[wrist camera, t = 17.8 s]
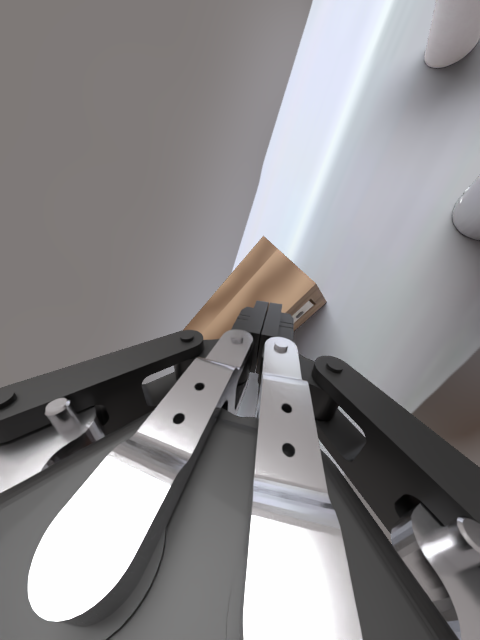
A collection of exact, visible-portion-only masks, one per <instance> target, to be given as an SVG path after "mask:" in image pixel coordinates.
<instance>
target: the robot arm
mask: <svg viewBox="0 0 480 640" xmlns="http://www.w3.org/2000/svg"><path fill="white" fill-rule="evenodd" d="M452 218H453V223H454V225H455V227H456V228H457V229H458V230H459V231H460V232H461V233H462V234H464V235H465V236H467V237H470V238H473V239H476V240H480V175H479V176H478V177H477V178H476V180H475V181H474V182H473V183H472V184H471V185H470V186H469V187H468V188H467V190H466V191H465V192H464V193H463V195H462V196H461V197H460V198H459V200H458V201H457V203H456V204H455V207H454V209H453V215H452ZM268 307H269V308H268ZM281 310H282V304H277V303H271V302H270V304H269V302H265V301H258V300H257V301H256V303H255V306H254V308H252V307H246V308H244V309H242V310H241V312H240V314H239V315H238V317H237V319H236V321H235V323H234V325H233V327H232V328H231V330H229V331H227V332H225V333H224V334H223V335H222V337H221V338H220V339H213V340H203V335H202V334H201V333H200V332H198V331H195V330H183V331H179V332H176V333H173V334H170V335H167V336H163V337H160V338H157V339H154V340H151V341H148V342H144V343H141V344H138V345H135V346H132V347H129V348H126V349H122V350H119V351H116V352H113V353H110V354H107V355H103V356H100V357H97V358H94V359H91V360H88V361H84V362H81V363H78V364H75V365H72V366H68V367H65V368H62V369H59V370H56V371H53V372H50V373H47V374H43V375H40V376H37V377H34V378H31V379H27V380H24V381H21V382H18V383H15V384H11V385H8V386H5V387H2V388H0V640H480V467H478V466H477V465H476V464H474V463H473V462H472V461H471V460H469V459H468V458H467V457H465V456H464V455H463V454H462V453H460V452H459V451H458V450H456V449H455V448H454V447H453V446H451V445H450V444H449V443H448V442H446V441H445V440H444V439H443V438H441V437H440V436H439V435H437V434H436V433H435V432H434V431H432V430H431V429H429V428H428V427H427V426H426V425H425V424H423V423H422V422H421V421H419V420H418V419H417V418H416V417H414V416H413V415H412V414H411V413H409V412H408V411H407V410H406V409H404V408H403V407H402V406H400V405H399V404H398V403H397V402H395V401H394V400H393V399H391V398H390V397H389V396H388V395H386V394H385V393H384V392H383V391H381V390H380V389H379V388H377V387H376V386H375V385H374V384H372V383H371V382H370V381H368V380H367V379H366V378H365V377H363V376H362V375H361V374H360V373H358V372H357V371H356V370H354V369H353V368H352V367H351V366H349V365H348V364H347V363H345V362H344V361H342V360H340V359H338V358H335V357H332V356H321V357H318V358H317V359H316V361H315V362H314V361H312V360H309V359H307V358H305V357H303V356H301V355H300V354H299V353H298V349H297V346H296V345H295V343H293V336H294V329H293V328H294V318H293V317H292V316H291V314H288V313H282V312H281ZM173 365H174V368H175V372H173V373H171V374H169V375H166V376H164V377H161V378H159V379H157V380H155V381H152V382H150V383H148V384H143V385H142V382H143V380H144V379H145V378H146V377H147V376H149V375H151V374H154V373H156V372H159V371H161V370H163V369H166V368H168V367H171V366H173ZM256 365H257V369H256ZM255 369H256V373H258V374H259V377H258V383H259V386H258V394H257V403H256V413H255V417H238V416H236V414H237V411H238V409H239V406H240V403H241V401H242V398H243V395H244V393H245V390H246V388H247V385H248V378H249V373H250V372H254V373H255ZM338 406H340V407H341V408H342V409H343V410H344V411H345V412H346V413H347V414H348V415H349V416H350V417H351V418H352V419H353V420H354V421H355V422H356V423H357V424H358V425H359V426H360V428H361V429H362V430H363V432H364V434H365V436H366V438H365V437H364V436H363V435H362V434H361V433H360V432H359V431H358V429H357V428H356V427H355V426H354V425H353V424H352V423H351V422H350V421H349V420H348V419H347V418H346V417H345V416H344V415H343V414H342V413H341V412H340V411H339V410H338V409H337V408H338ZM318 439H319V440H320V441H321V442H322V444H323V445H324V446H325V448H326V449H327V450H328V452H329V453H330V454H331V456H332V457H333V458H334V460H335V461H336V462H337V464H338V465H339V466H340V468H341V469H342V470H343V471H344V473H345V474H346V475H347V477H348V478H349V479H350V481H351V482H352V483H353V485H354V486H355V487H356V489H357V490H358V491H359V493H360V494H361V495H362V497H364V499H365V500H366V502H367V503H368V504H369V505H370V507H371V508H372V510H373V511H374V512H375V514H376V515H377V516H378V518H379V519H380V520H381V522H382V523H383V524H384V526H385V527H386V528H387V530H388V531H389V532H390V533H391V541H392V544H391V543H390V542H389V540H388V539H387V537H386V536H385V534H384V533H383V531H382V530H381V529H380V527H379V526H378V524H377V523H376V522H375V520H374V519H373V517H372V516H371V515H370V513H369V512H368V510H367V509H366V508H365V506H364V505H363V503H362V502H361V500H360V499H359V498H358V496H357V495H356V493H355V492H354V491H353V489H352V488H351V486H350V485H349V484H348V482H347V481H346V479H345V478H344V476H343V475H342V474H341V472H340V471H339V469H338V468H337V467H336V465H335V464H334V463H333V462H332V461H331V460H330V458H329V457H328V456H327V455H326V454H325V453H324V452H323V451H322V450H321V449H320V446H319V440H318Z"/></svg>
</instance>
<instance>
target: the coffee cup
mask: <svg viewBox="0 0 480 640" xmlns="http://www.w3.org/2000/svg"><path fill="white" fill-rule="evenodd" d="M479 39H480V0H436V2H435V7H434V12H433V17H432V21H431V26H430V31H429V36H428V41H427V45H426V50H425V55H424V60H425V63H426V64H427V65H428V66H430V67H432V68H442V67H446V66H449V65H451V64H453V63H455V62H457V61H459V60H460V59H462V58H463V57H465V56H466V55H467V54H468V53H469V52H470V51H471V50H472V49H473V48H474V47H475V46H476V44H477V43H478V41H479Z"/></svg>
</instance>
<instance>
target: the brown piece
mask: <svg viewBox="0 0 480 640" xmlns="http://www.w3.org/2000/svg"><path fill="white" fill-rule="evenodd" d="M257 300H258V301H265V302H269V304H270V302H271V303H277V304H282V310H281V312H282V313H288V314H291V316H293V315H294V314H295V313H296V312H297V311H298V310H299V309H300V308H301V307H302V306H303V305H304V304H306V303H307V302H308V301H310V302H311V303H312V304H313V306H312V307H311V308H310V309H309V310H308V311H307V312H306V313H305V314H303V315H302V316H301V317H300V318H299V319H298V320H297V321H296V322H295V323H294V328H293V329H294V331H295V330H296V329H297V328H298V327H299V326H301V325H302V324H303V323H304V322H305V321H306V320H307V319H308V318H310V317H311V316H312V315H313V314H314V313H315V312H316V311H317V310H318V309H320V308H321V307H322V306H323V305H324V304H325V303H326V300H325V298H324V297H323V295H322V293H321V291H320V290H319V288H318V286H317V284H316V283H315V282H314V281H313V280H311V279H310V278H309V277H308V276H307V275H306V274H305V273H304V272H303V271H302V270H300V269H299V268H298V267H297V266H296V265H295V264H294V263H293V262H292V261H291V260H289V259H288V258H287V257H286V256H285V255H284V254H283V253H282V252H281V251H280V250H278V249H277V248H276V247H275V246H274V245H273V244H272V243H271V242H270V241H269V240H267V239H266V238H265V237H264V236H263V237H262V238H261V239H260V241H259V242H258V243H257V244H256V245H255V246H254V248H253V249H252V250H251V251H250V252H249V253H248V255H247V256H246V257H245V258H244V259H243V260H242V262H241V263H240V264H239V265H238V266H237V267H236V269H235V270H234V271H233V272H232V273H231V274H230V276H229V277H228V278H227V279H226V280H225V282H224V283H223V284H222V285H221V286H220V287H219V289H218V290H217V291H216V292H215V293H214V294H213V296H212V297H211V298H210V299H209V300H208V302H207V303H206V304H205V305H204V306H203V307H202V309H201V310H200V311H199V312H198V313H197V314H196V316H195V317H194V318H193V319H192V320H191V321H190V323H189V324H188V325H187V326H186V327H185V328H184V330H195V331H198V332H200V333H201V334H202V335H203V340H213V339H220V338H221V337H222V335H223V334H224V333H225V332H227V331H229V330H231V328H232V327H233V325H234V323H235V321H236V319H237V317H238V315H239V314H240V312H241V310H242V309H244V308H246V307H252V308H254V306H255V303H256V301H257ZM268 308H269V307H268Z"/></svg>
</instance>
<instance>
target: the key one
mask: <svg viewBox="0 0 480 640" xmlns="http://www.w3.org/2000/svg"><path fill="white" fill-rule="evenodd" d="M312 306H313V304H312V303H311V302H310V301H308V302H307V303H306V304H304V305H303V306H302V307H301V308H300V309H299V310H298V311H297V312H296V313H295V314H294V315H293V316H292V317H293V318H294V323H295V322H296V321H297V320H298V319H299V318H300V317H301V316H302V315H303V314H305V313H306V312H307V311H308V310H309V309H310V308H311V307H312Z"/></svg>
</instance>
